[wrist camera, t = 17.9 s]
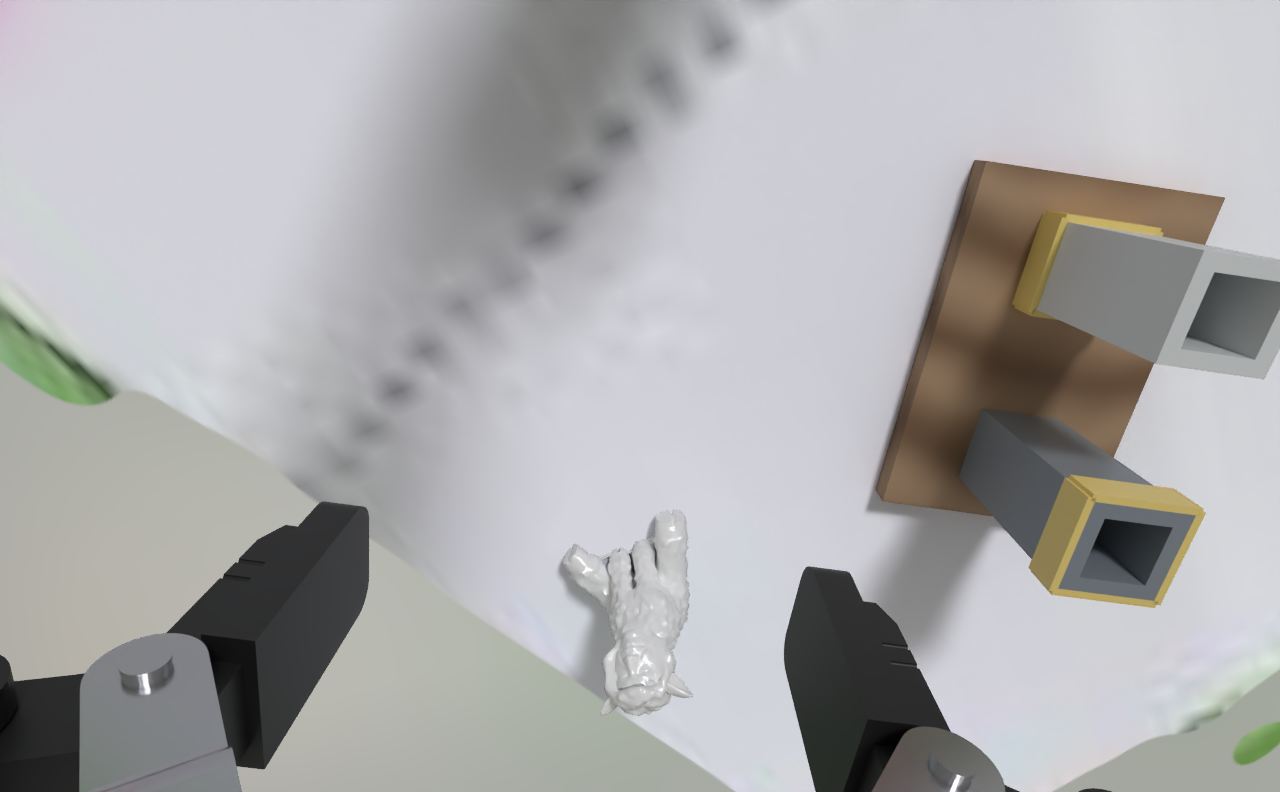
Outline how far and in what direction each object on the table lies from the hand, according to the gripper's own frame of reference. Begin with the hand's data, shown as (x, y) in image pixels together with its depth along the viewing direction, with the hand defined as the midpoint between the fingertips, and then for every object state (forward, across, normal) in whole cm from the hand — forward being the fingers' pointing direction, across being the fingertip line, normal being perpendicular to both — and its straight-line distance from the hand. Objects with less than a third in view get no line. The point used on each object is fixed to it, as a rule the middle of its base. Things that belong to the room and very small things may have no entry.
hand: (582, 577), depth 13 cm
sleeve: (+31, -26, +8) cm, 41 cm away
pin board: (+32, -26, +2) cm, 41 cm away
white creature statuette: (+32, -4, +22) cm, 39 cm away
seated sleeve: (+31, -26, -4) cm, 40 cm away
